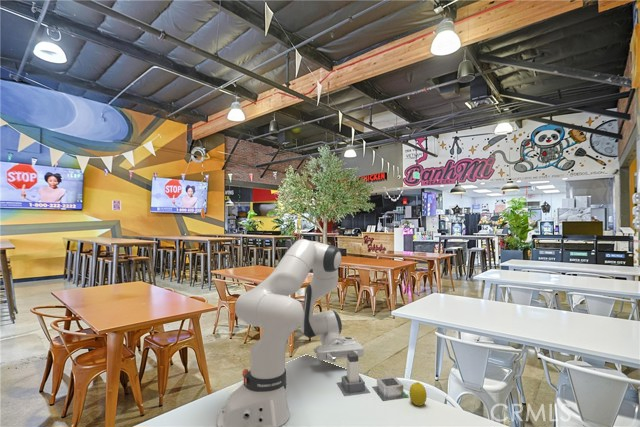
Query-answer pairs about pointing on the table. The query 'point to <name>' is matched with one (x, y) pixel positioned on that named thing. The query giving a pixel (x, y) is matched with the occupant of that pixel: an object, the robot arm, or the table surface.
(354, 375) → the plug
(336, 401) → the table surface
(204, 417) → the table surface
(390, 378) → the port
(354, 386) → the holster
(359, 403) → the table surface
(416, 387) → the lemon
